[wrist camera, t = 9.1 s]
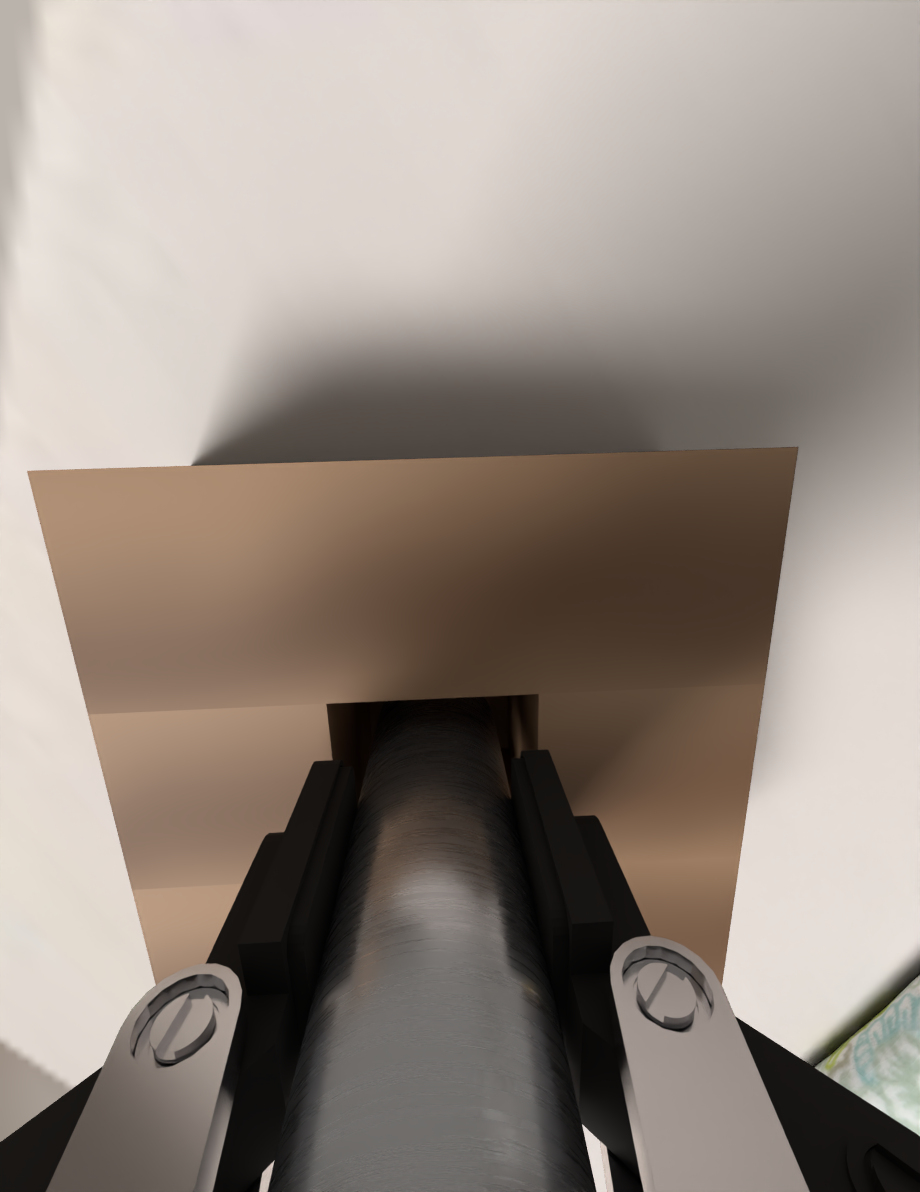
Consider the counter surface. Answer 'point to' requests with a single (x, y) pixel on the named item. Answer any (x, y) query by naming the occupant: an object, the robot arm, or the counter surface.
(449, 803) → the pin
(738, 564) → the socket block
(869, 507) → the counter surface
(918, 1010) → the towel
